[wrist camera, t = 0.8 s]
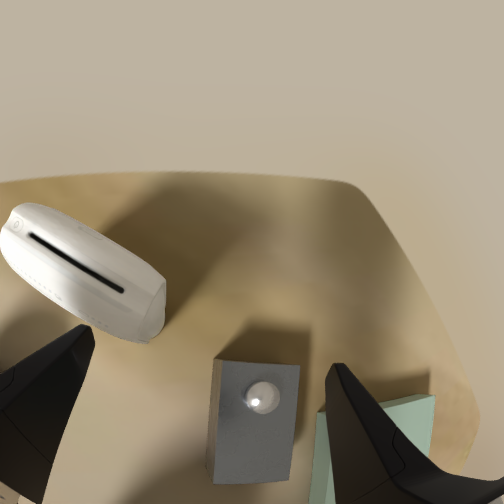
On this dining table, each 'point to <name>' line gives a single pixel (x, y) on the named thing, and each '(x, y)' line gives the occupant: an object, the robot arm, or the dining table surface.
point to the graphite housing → (251, 421)
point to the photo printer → (85, 272)
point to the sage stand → (403, 415)
